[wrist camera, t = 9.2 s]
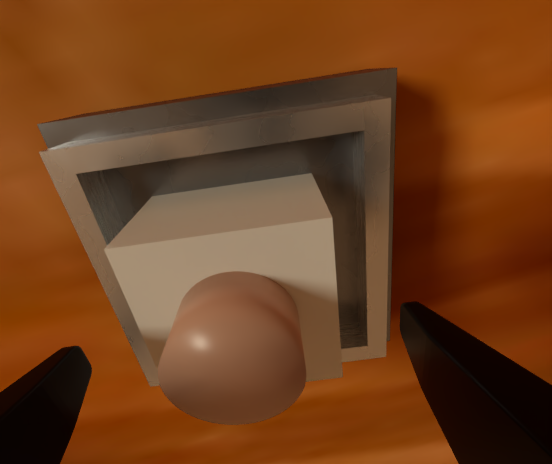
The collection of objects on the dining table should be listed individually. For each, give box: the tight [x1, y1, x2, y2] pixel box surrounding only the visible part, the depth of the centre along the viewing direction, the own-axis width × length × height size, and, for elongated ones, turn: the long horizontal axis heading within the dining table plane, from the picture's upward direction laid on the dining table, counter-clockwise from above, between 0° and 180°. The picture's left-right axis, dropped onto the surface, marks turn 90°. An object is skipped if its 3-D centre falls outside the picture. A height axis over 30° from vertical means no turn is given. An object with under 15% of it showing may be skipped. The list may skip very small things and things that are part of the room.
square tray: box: [37, 68, 397, 386], centre depth 14 cm, size 12×12×4 cm
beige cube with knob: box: [104, 173, 343, 425], centre depth 10 cm, size 6×6×6 cm
